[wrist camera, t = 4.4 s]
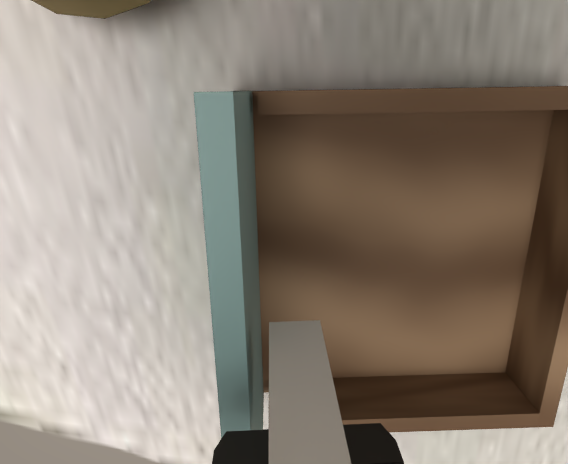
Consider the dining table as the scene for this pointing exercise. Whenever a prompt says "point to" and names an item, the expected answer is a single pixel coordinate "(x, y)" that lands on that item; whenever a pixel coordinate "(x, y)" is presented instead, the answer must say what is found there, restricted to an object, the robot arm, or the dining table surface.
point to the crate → (420, 248)
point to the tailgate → (232, 252)
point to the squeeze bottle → (91, 7)
